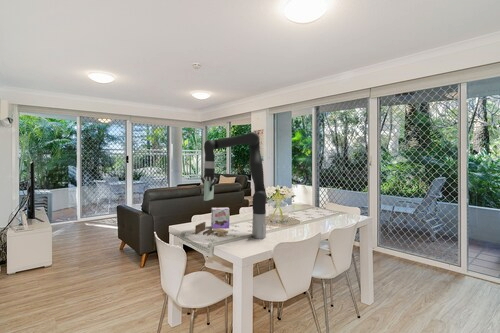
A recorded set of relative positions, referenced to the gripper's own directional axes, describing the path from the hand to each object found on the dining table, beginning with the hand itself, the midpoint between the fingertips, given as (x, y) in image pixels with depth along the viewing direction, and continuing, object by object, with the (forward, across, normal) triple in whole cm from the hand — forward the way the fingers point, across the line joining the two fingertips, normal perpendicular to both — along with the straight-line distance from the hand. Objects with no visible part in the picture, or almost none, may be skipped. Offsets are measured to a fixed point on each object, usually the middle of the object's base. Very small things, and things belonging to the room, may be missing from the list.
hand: (208, 191), depth 206 cm
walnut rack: (+31, 0, +3) cm, 31 cm away
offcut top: (+28, -12, +3) cm, 31 cm away
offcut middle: (+30, -12, +3) cm, 33 cm away
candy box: (+31, -3, -14) cm, 35 cm away
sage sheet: (+6, 0, 0) cm, 6 cm away
